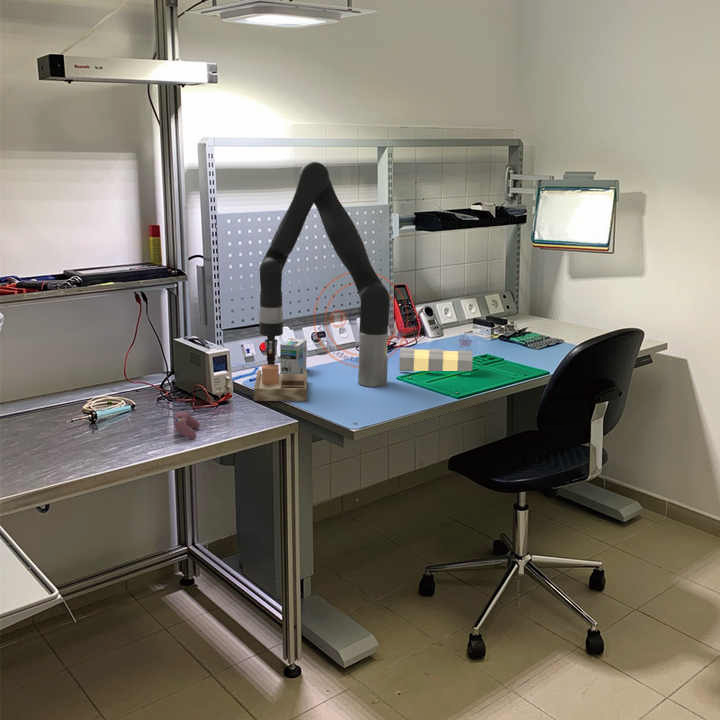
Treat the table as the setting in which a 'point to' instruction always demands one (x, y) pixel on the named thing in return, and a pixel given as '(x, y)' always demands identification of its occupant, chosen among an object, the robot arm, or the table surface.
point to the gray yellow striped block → (437, 359)
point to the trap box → (282, 388)
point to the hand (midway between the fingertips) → (271, 372)
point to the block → (270, 374)
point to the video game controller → (186, 424)
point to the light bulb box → (293, 356)
